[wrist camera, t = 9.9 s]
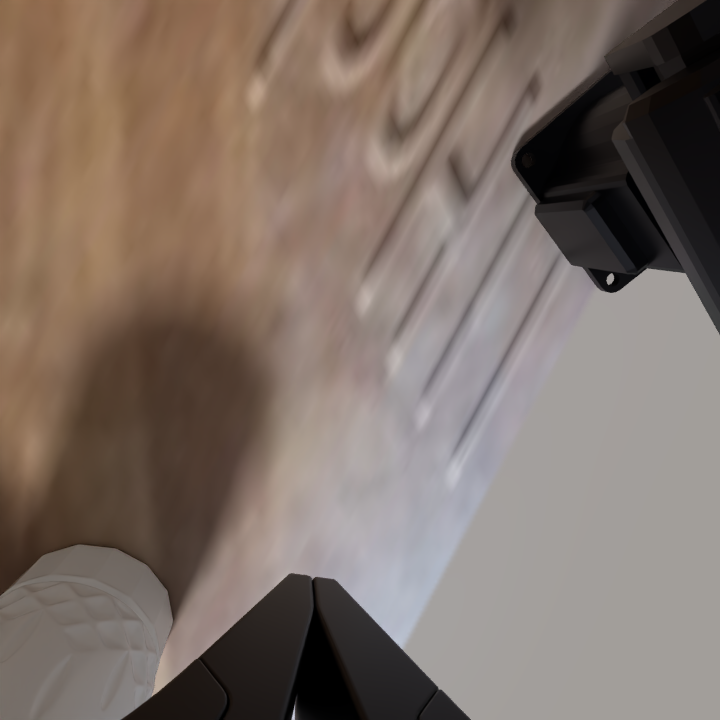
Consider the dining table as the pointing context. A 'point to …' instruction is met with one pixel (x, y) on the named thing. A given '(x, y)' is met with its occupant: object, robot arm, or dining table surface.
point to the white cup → (81, 636)
